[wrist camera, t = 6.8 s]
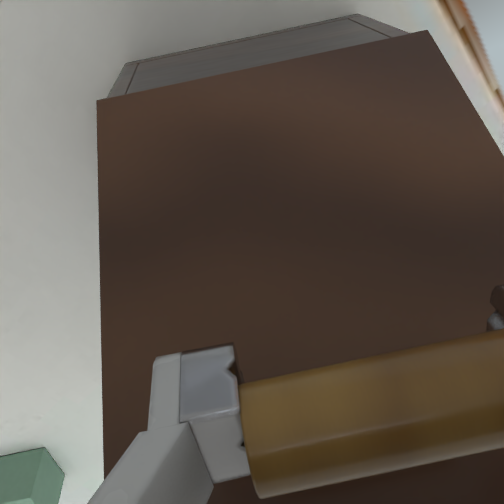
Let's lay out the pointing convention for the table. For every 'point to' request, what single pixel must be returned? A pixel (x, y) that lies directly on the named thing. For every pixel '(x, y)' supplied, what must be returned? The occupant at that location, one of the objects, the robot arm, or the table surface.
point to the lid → (314, 270)
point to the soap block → (30, 478)
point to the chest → (250, 52)
